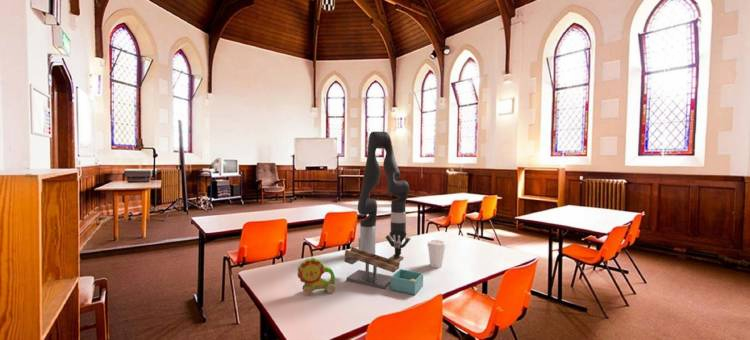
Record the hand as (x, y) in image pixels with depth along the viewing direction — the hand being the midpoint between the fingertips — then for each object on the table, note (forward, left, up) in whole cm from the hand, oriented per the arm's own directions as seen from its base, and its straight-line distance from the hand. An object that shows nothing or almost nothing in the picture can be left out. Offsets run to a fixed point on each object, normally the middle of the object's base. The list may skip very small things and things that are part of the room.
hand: (398, 255), depth 160 cm
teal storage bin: (+10, -12, -10) cm, 18 cm away
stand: (-9, -12, -10) cm, 18 cm away
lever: (-9, -6, -4) cm, 12 cm away
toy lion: (-24, -35, -10) cm, 43 cm away
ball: (+12, -12, -8) cm, 19 cm away
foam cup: (+13, +23, -10) cm, 28 cm away
